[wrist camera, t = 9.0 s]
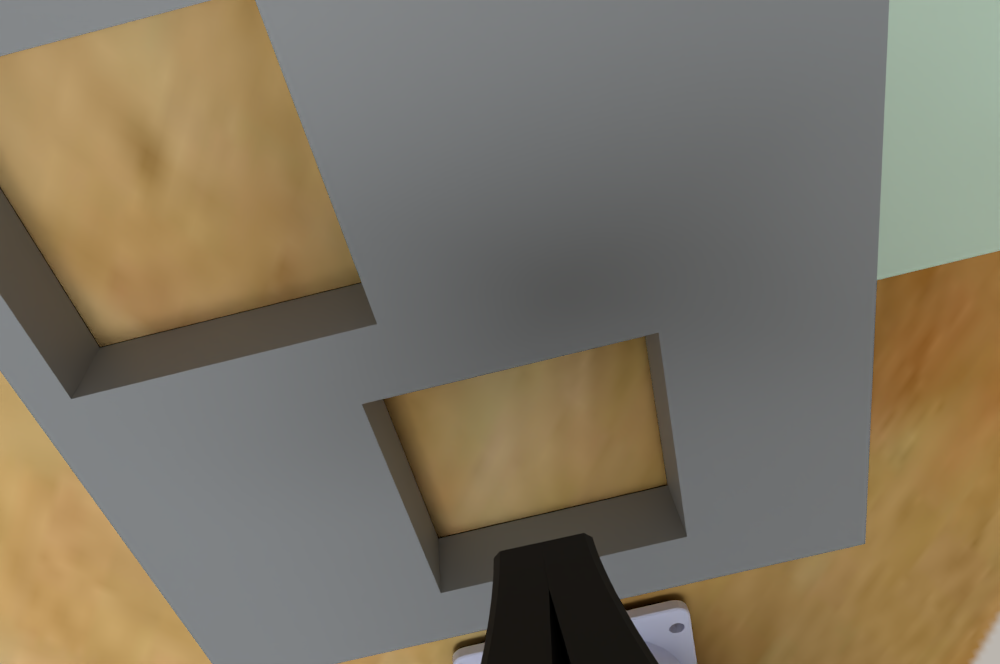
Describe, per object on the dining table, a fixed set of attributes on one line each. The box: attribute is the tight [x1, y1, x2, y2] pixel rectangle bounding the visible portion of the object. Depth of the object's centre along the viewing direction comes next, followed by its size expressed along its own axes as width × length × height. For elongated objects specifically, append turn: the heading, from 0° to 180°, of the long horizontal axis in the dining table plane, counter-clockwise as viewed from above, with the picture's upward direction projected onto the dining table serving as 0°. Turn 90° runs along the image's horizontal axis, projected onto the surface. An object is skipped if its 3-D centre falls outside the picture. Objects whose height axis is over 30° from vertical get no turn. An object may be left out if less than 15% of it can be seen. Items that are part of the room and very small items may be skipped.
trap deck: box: [0, 0, 1000, 664], centre depth 19 cm, size 20×30×2 cm, turn 103°
